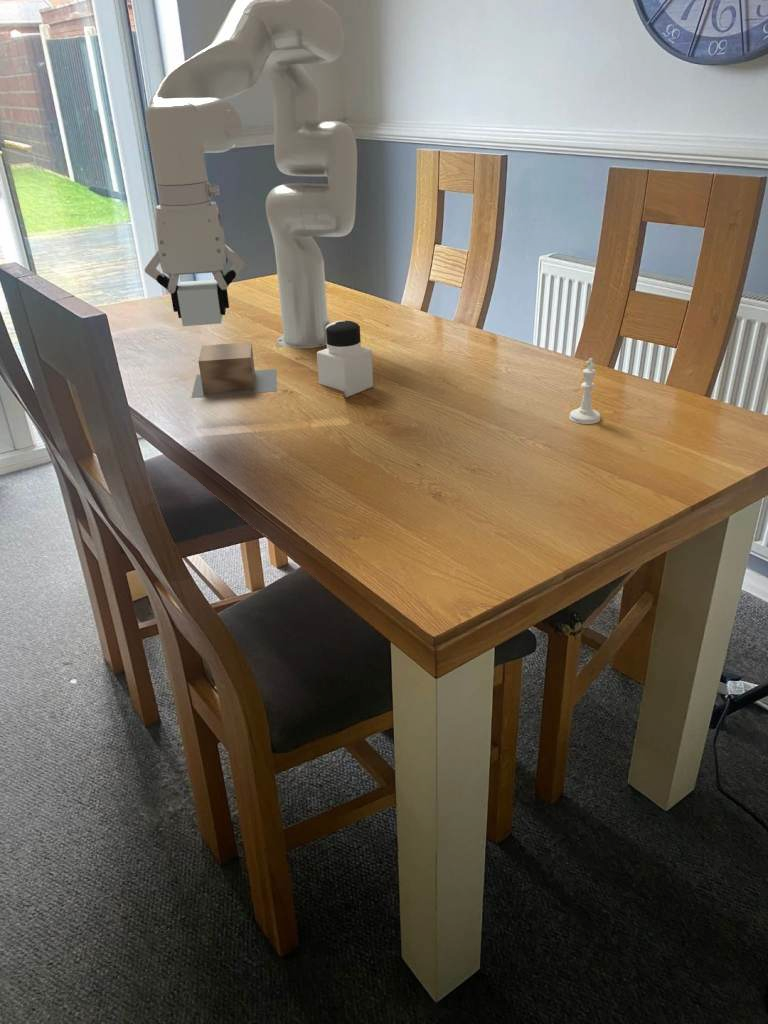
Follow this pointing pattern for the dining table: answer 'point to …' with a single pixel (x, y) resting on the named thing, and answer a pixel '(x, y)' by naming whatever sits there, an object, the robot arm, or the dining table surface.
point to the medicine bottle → (345, 359)
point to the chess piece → (586, 399)
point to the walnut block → (227, 367)
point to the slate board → (263, 383)
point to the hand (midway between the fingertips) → (202, 313)
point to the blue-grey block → (199, 302)
